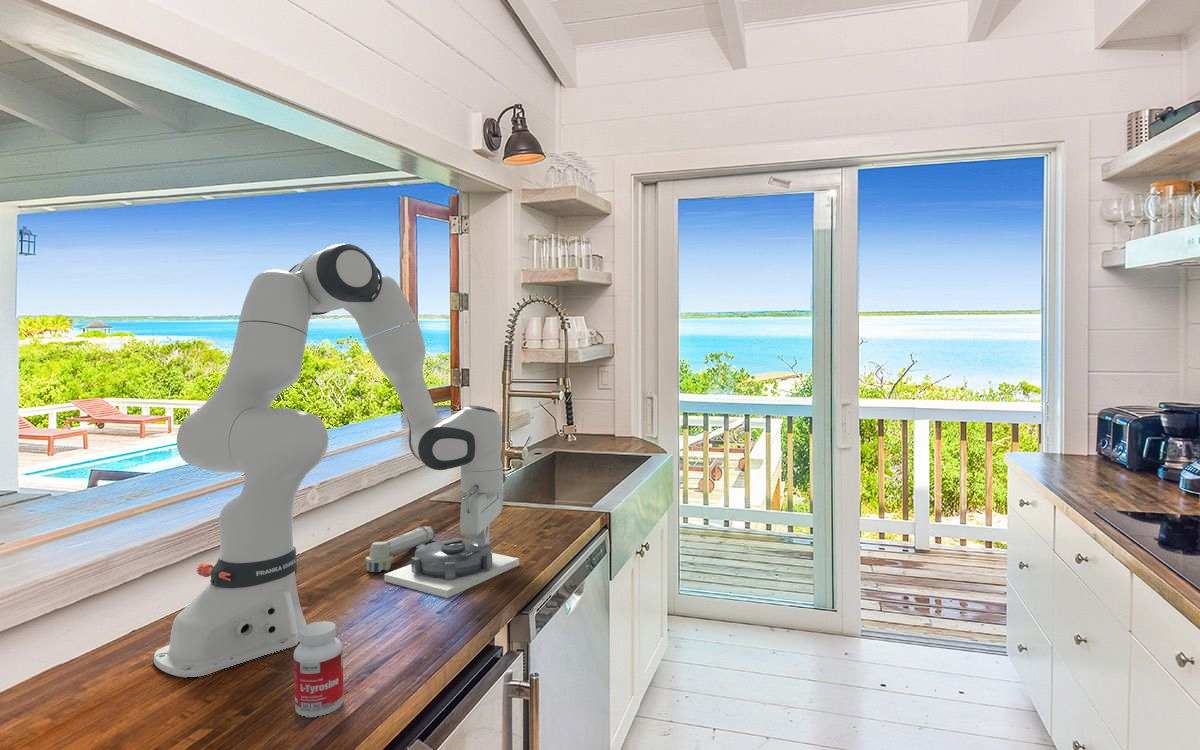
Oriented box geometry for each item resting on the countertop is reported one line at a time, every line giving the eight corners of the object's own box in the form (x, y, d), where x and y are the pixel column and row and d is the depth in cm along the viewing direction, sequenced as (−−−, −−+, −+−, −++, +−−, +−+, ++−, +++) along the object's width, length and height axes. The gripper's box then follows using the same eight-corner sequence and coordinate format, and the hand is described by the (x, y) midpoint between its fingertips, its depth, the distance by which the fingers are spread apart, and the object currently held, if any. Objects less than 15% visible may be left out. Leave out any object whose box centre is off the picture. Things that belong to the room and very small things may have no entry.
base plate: (447, 598, 130) (446, 589, 130) (384, 581, 140) (384, 573, 140) (519, 565, 149) (518, 557, 149) (459, 552, 158) (459, 545, 158)
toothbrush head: (437, 525, 168) (383, 541, 144) (436, 552, 168) (381, 573, 143) (418, 524, 169) (361, 539, 145) (417, 551, 169) (359, 571, 145)
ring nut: (430, 584, 132) (429, 544, 132) (398, 563, 145) (397, 526, 145) (505, 565, 143) (504, 528, 142) (469, 547, 156) (468, 513, 155)
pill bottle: (295, 723, 88) (291, 641, 87) (295, 701, 94) (292, 623, 93) (345, 712, 90) (342, 632, 90) (342, 691, 96) (340, 615, 95)
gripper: (482, 492, 133) (483, 560, 133) (507, 472, 153) (508, 532, 154) (451, 491, 133) (452, 559, 134) (480, 472, 154) (481, 531, 154)
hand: (482, 545), depth 144 cm, fingers closed
